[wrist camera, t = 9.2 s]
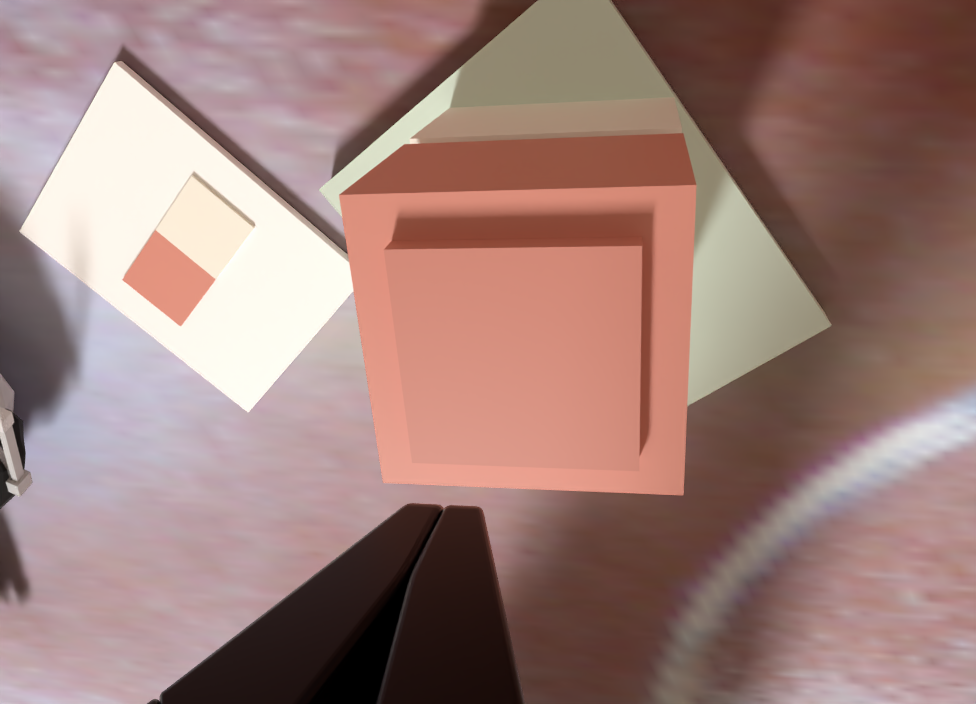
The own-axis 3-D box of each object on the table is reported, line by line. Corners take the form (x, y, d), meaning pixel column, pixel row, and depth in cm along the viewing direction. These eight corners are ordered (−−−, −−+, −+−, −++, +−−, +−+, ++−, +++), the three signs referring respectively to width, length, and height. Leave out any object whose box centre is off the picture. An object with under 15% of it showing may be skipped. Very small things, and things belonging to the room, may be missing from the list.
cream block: (667, 309, 19) (674, 387, 16) (467, 309, 20) (431, 383, 17) (674, 96, 17) (683, 131, 14) (449, 107, 18) (403, 143, 15)
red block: (674, 388, 16) (685, 510, 12) (431, 383, 17) (376, 496, 13) (683, 133, 14) (697, 192, 10) (404, 143, 15) (329, 202, 11)
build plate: (824, 312, 20) (831, 325, 19) (564, 459, 23) (561, 475, 22) (585, -39, 17) (582, -39, 16) (330, 181, 20) (318, 190, 20)
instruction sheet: (368, 272, 21) (364, 278, 21) (252, 407, 24) (246, 414, 23) (121, 60, 20) (112, 62, 19) (26, 228, 22) (16, 232, 22)
